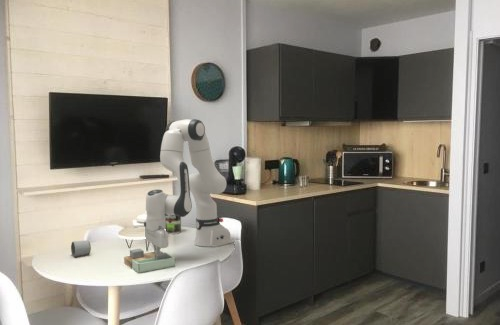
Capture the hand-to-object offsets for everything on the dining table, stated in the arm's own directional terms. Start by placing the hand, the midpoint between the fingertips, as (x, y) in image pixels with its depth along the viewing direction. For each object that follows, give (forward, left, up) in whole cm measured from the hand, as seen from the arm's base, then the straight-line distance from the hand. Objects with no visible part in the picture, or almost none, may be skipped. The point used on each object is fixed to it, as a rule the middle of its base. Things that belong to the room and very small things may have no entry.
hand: (157, 253), depth 204 cm
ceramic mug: (+28, -36, -5) cm, 46 cm away
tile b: (+8, -4, -1) cm, 10 cm away
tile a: (+1, +5, -1) cm, 5 cm away
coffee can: (-32, -55, -5) cm, 64 cm away
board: (+4, -3, -4) cm, 7 cm away
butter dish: (-16, -55, -5) cm, 58 cm away
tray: (+4, +7, -4) cm, 9 cm away
